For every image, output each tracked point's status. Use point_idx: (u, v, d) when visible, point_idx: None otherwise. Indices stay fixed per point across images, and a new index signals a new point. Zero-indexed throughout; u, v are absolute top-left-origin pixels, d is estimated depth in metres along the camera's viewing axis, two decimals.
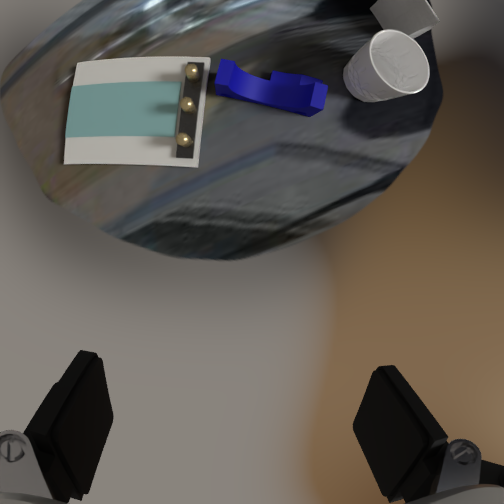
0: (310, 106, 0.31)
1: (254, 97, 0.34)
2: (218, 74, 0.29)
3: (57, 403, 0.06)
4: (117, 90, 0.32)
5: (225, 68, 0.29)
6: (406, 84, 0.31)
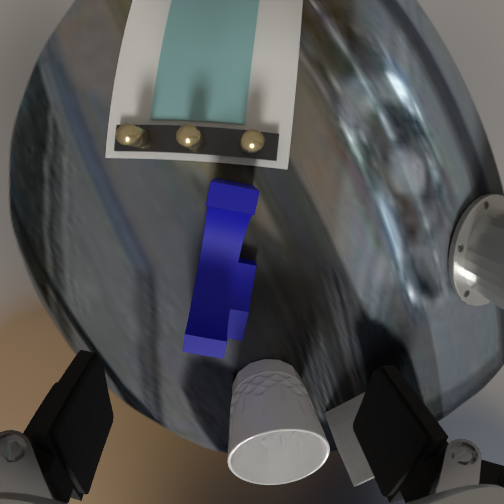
0: None
1: (207, 240, 0.24)
2: (227, 187, 0.19)
3: (57, 403, 0.06)
4: (241, 27, 0.19)
5: (239, 199, 0.19)
6: (256, 446, 0.25)
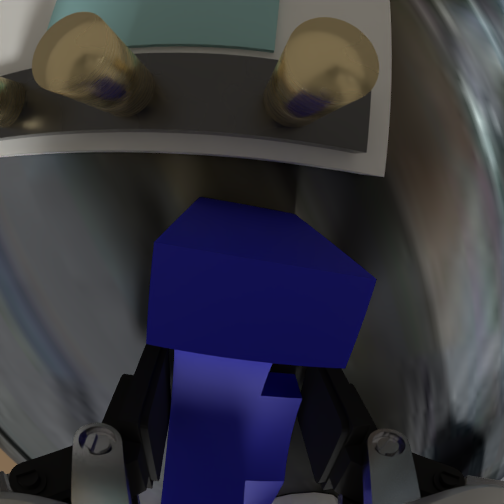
0: None
1: (186, 357, 0.09)
2: (237, 269, 0.04)
3: (140, 391, 0.07)
4: None
5: (292, 318, 0.04)
6: None
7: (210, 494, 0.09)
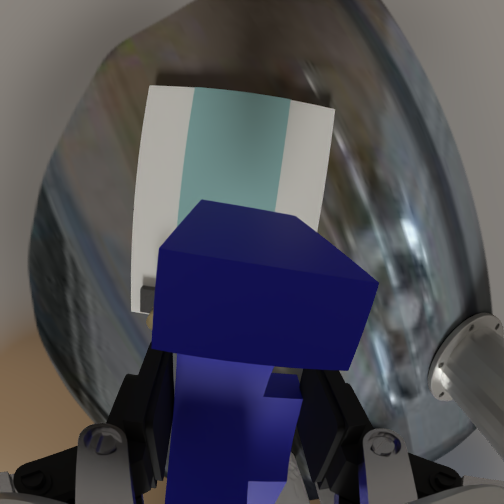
0: None
1: (188, 359, 0.09)
2: (241, 274, 0.04)
3: (145, 391, 0.07)
4: (263, 188, 0.22)
5: (296, 321, 0.04)
6: None
7: (213, 495, 0.09)
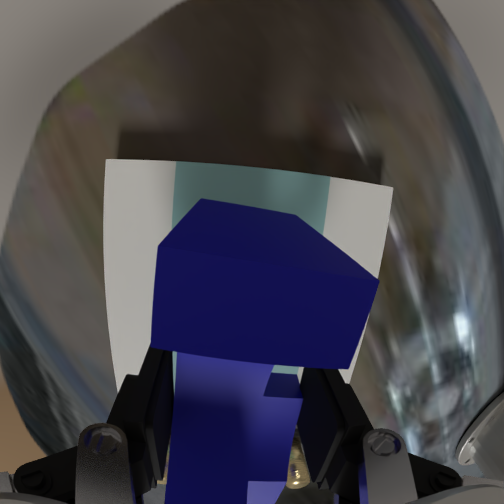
0: None
1: (188, 358, 0.09)
2: (241, 272, 0.04)
3: (145, 391, 0.07)
4: None
5: (296, 319, 0.04)
6: None
7: (213, 495, 0.09)
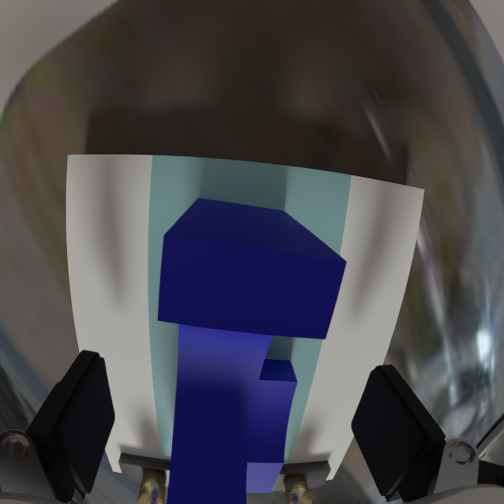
0: None
1: (189, 344, 0.10)
2: (230, 255, 0.05)
3: (60, 402, 0.06)
4: (296, 345, 0.12)
5: (277, 294, 0.05)
6: None
7: (214, 476, 0.10)
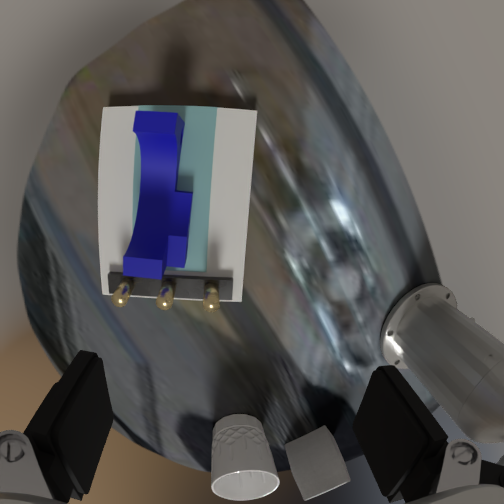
0: None
1: (145, 173, 0.24)
2: (150, 113, 0.19)
3: (57, 403, 0.06)
4: (198, 183, 0.27)
5: (160, 121, 0.19)
6: (232, 473, 0.33)
7: (152, 240, 0.24)
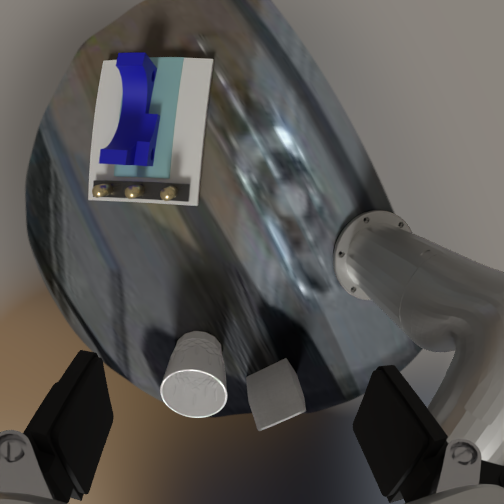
0: None
1: (125, 101, 0.30)
2: (127, 54, 0.25)
3: (57, 403, 0.06)
4: (167, 110, 0.33)
5: (134, 58, 0.25)
6: (187, 392, 0.38)
7: (124, 143, 0.30)
